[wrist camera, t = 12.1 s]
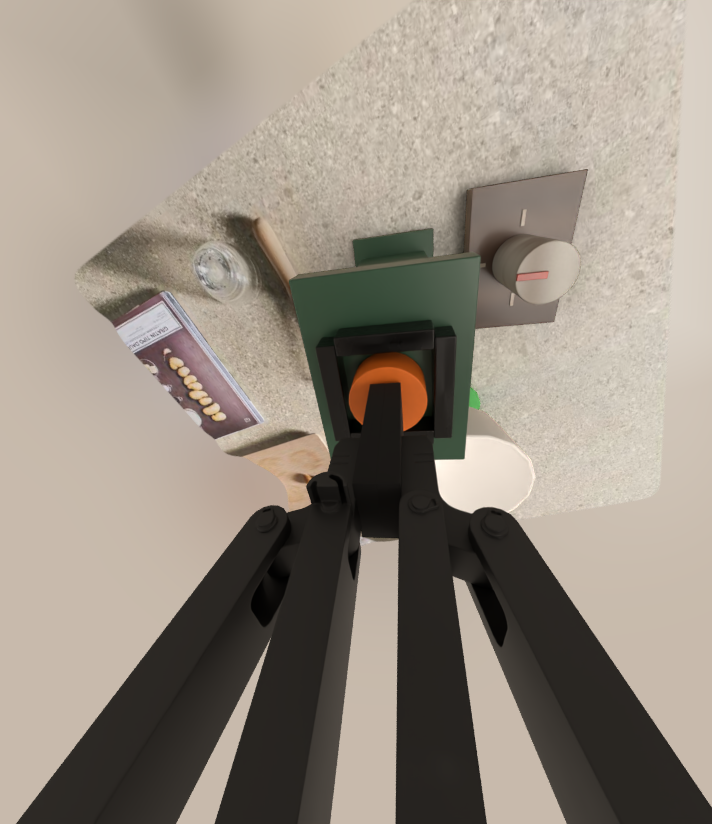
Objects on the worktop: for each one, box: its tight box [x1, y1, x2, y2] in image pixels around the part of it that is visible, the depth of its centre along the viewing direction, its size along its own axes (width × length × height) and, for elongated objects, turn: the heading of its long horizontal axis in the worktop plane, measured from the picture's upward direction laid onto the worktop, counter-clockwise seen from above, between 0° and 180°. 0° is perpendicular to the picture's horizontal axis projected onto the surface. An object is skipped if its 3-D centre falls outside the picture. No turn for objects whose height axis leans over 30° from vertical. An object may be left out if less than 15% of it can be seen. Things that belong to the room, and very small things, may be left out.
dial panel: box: [464, 169, 588, 329], centre depth 33 cm, size 14×10×3 cm
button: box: [349, 352, 427, 431], centre depth 16 cm, size 4×4×2 cm
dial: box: [492, 234, 581, 305], centre depth 29 cm, size 5×5×8 cm
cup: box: [435, 387, 536, 513], centre depth 40 cm, size 14×14×16 cm
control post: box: [289, 228, 481, 460], centre depth 27 cm, size 12×9×26 cm
